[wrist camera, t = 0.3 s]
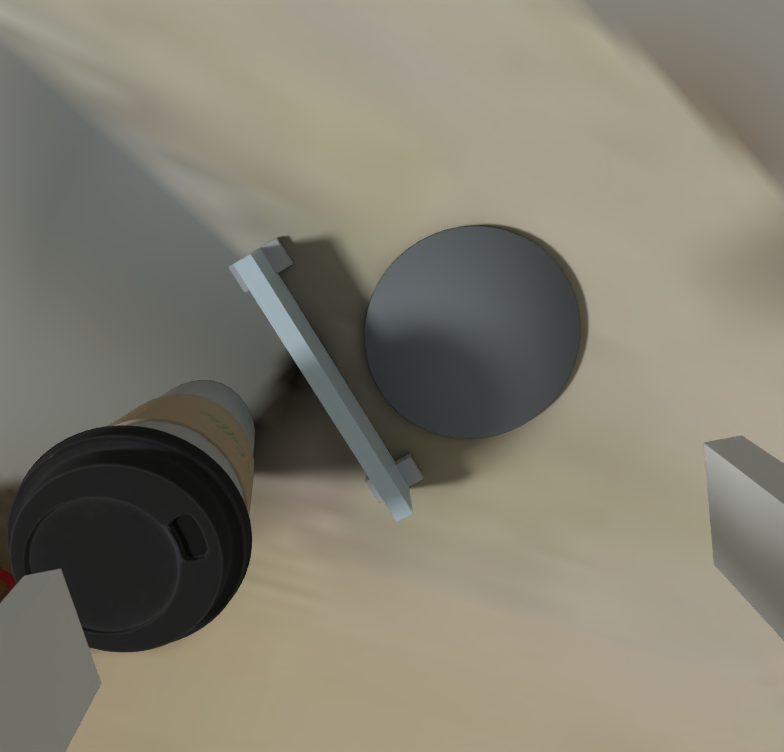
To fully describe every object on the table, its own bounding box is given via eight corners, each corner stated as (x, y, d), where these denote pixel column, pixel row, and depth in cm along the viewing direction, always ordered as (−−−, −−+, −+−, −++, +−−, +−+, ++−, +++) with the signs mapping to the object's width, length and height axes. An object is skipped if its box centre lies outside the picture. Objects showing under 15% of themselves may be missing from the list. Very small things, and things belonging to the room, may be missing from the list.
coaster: (324, 296, 40) (323, 298, 39) (517, 183, 39) (519, 183, 38) (430, 470, 43) (431, 474, 42) (612, 370, 42) (615, 373, 41)
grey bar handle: (230, 265, 39) (215, 275, 35) (277, 237, 39) (268, 243, 35) (379, 499, 43) (380, 530, 39) (422, 474, 43) (428, 504, 39)
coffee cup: (318, 424, 42) (295, 554, 27) (212, 534, 43) (137, 712, 29) (191, 314, 40) (92, 391, 25) (84, 433, 41) (-66, 569, 27)
